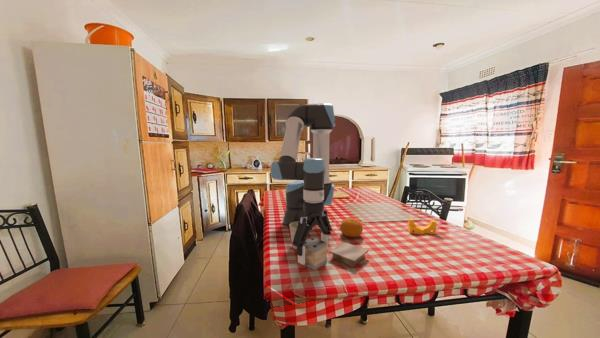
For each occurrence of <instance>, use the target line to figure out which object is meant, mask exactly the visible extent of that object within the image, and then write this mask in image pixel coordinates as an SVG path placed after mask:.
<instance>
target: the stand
mask: <svg viewBox="0 0 600 338" xmlns="http://www.w3.org/2000/svg"><path fill="white" fill-rule="evenodd" d="M368 252H369V249H366V248H364V247H362V246H361V247H360V246H357V245H354V244H351V243H349V242H345V241H343V242H341V243H339V244H337V246H335V247H334V248H332V249H330V250H329V251H328V253H329V254H332V259H333V260H335V261H338V262H341V263H344V264H346V265H349V266H350V267H355V266H356V265H358V264H359V262H361V261H362V260H363V259H365V256H366V254H367V253H368Z"/></svg>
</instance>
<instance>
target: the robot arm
mask: <svg viewBox="0 0 600 338" xmlns="http://www.w3.org/2000/svg"><path fill="white" fill-rule="evenodd" d="M285 127H286V128H285V132H284V136H283V141H282V144H281V148H280V152H279V156H278V160H277V161H273V162H272V163H270V171H269V172H270V176H271V178H272V179H273V180H276V181H291V182H288V183H287V184H286V186H285V211H284V216H283V218H282V223H283V225H285V226H288V227H290V226H289V225H290V223H292V222H296V221H299V223H298V227H297V230H296V233H295V236H294V240H293V243H292V242H291V246H292V245H294V246H296V247H297V249H296V255H297V263H298V264H301V265H303V266H305V246H303V245H304V243H305V241H306V239H307V240H308V236H309V234H310V231H311V230H313V228H314V227H315V226H317V227H318V228H319V229H320V230H321V233H320V240H322V241H324V242H327V252H329V251H328V245H329V243H328V242H329V236H330V235H331V233H332V230H333V229H332V226H331V223H330V220H329V219H330V218H329V217H328V210H327V209H326V210H325V206H330V205H332V203H333V200H334V194H335V193H334V192H335V184H333V180H332V179H330V134H331V132H332V131H333V128H334V127H336V118H335V109H334V105H333V104H331V103H309V104H308V103H307V104H306V103H304V104H303V103H302V104H300V105H298V106H295V108H293V109H292V110H291V111H290V113H288V115H287V117H286V119H285ZM304 128H309V130H310V132H311V133H312V141H313V144H312V147H313V148H312V157H311V158H310V157H307V158H304V160H303V161H297V160H298V159H297V157H298V152H299V146H300V141H301V136H302V135H301V134H302V131H303V130H304ZM307 224H308V225H309V226H308V225H307Z"/></svg>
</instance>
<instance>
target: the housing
mask: <svg viewBox="0 0 600 338" xmlns="http://www.w3.org/2000/svg"><path fill="white" fill-rule="evenodd" d="M303 246H305V265H304V266H305V267H307V268H309V269H312V270H314V271H316V270H318V269H319V268H321V267H322V266H324V265H325V264H326V263H327V259H328V258H327V255H328V253H327V252H328V251H327V242H324V241H322V240H321V239H319V238H316V237H310V238H307V240H306V241H305V243H304V245H303Z"/></svg>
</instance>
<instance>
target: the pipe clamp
mask: <svg viewBox="0 0 600 338" xmlns="http://www.w3.org/2000/svg"><path fill="white" fill-rule="evenodd" d="M407 223H408V224H407V231H408V232H409V234H417V235H418V234H419V235H425V234H431V235H436V233H437V221H436V219H435V220H434V219H431V220H430V221H429V224H427V225H426V226H419V225H416V224H415V220H414V218H410V217H409V218H408V222H407Z"/></svg>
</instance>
